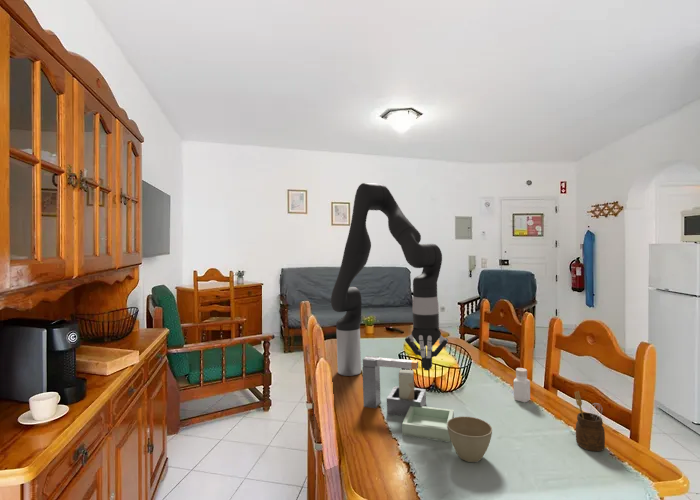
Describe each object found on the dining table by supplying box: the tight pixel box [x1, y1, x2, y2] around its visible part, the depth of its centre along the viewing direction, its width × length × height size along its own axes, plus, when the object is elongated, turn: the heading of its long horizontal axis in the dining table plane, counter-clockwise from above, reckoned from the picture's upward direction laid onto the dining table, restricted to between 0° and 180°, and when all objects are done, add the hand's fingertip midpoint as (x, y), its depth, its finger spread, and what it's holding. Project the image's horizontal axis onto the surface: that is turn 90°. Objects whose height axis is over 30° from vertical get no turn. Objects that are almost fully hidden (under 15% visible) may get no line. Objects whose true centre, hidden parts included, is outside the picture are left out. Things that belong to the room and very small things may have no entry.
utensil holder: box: [574, 390, 606, 452], centre depth 91 cm, size 6×6×12 cm
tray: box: [401, 405, 455, 443], centre depth 103 cm, size 12×12×3 cm
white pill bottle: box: [513, 367, 531, 403], centre depth 118 cm, size 4×4×10 cm
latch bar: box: [363, 356, 419, 371], centre depth 116 cm, size 2×16×2 cm, turn 70°
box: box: [398, 369, 415, 400], centre depth 115 cm, size 5×4×11 cm
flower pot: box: [447, 415, 493, 463], centre depth 88 cm, size 10×10×7 cm
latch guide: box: [361, 355, 381, 409], centre depth 118 cm, size 5×4×14 cm
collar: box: [386, 385, 427, 417], centre depth 115 cm, size 10×10×4 cm
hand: (427, 369), depth 112 cm, fingers closed
